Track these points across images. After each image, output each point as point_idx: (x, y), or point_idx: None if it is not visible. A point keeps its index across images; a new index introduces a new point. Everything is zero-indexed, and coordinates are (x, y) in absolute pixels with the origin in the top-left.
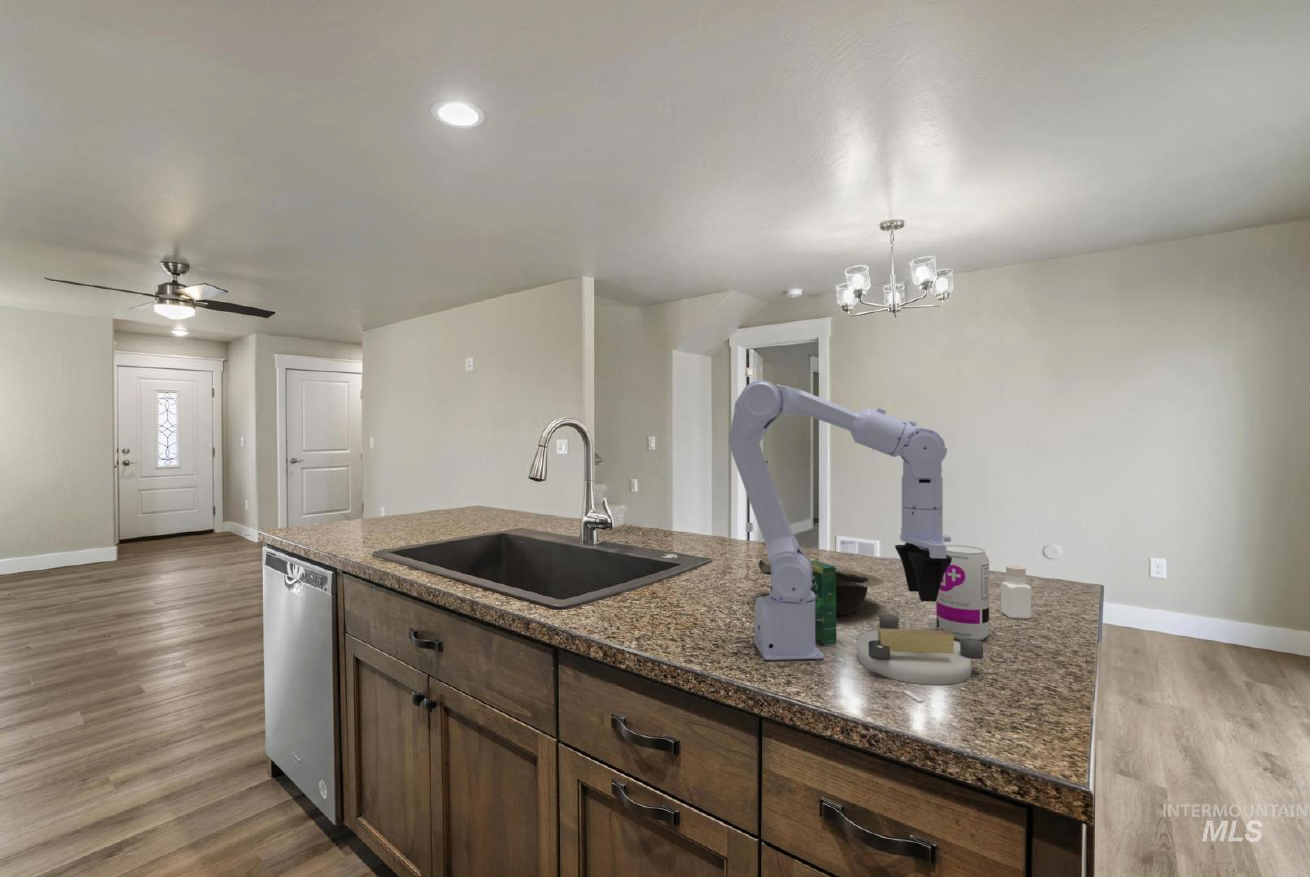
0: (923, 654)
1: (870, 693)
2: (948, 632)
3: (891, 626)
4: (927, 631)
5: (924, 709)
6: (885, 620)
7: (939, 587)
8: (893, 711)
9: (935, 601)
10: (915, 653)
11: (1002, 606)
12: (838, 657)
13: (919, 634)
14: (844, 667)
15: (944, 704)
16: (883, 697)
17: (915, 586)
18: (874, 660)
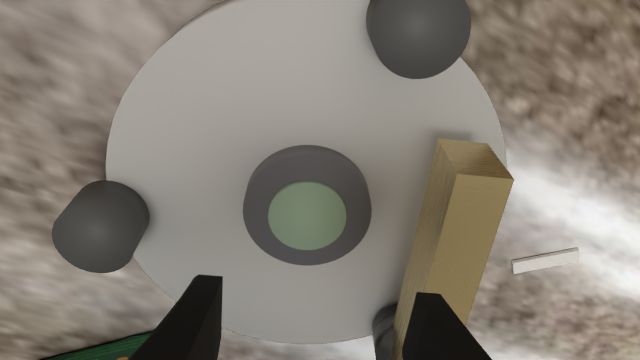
0: (387, 195)
1: (501, 336)
2: (478, 185)
3: (142, 229)
4: (454, 260)
5: (611, 258)
6: (129, 260)
7: (484, 351)
8: (600, 320)
9: (441, 296)
10: (376, 216)
11: None
12: (267, 344)
13: (474, 293)
14: (339, 347)
15: (601, 203)
16: (528, 318)
17: (217, 338)
18: None
